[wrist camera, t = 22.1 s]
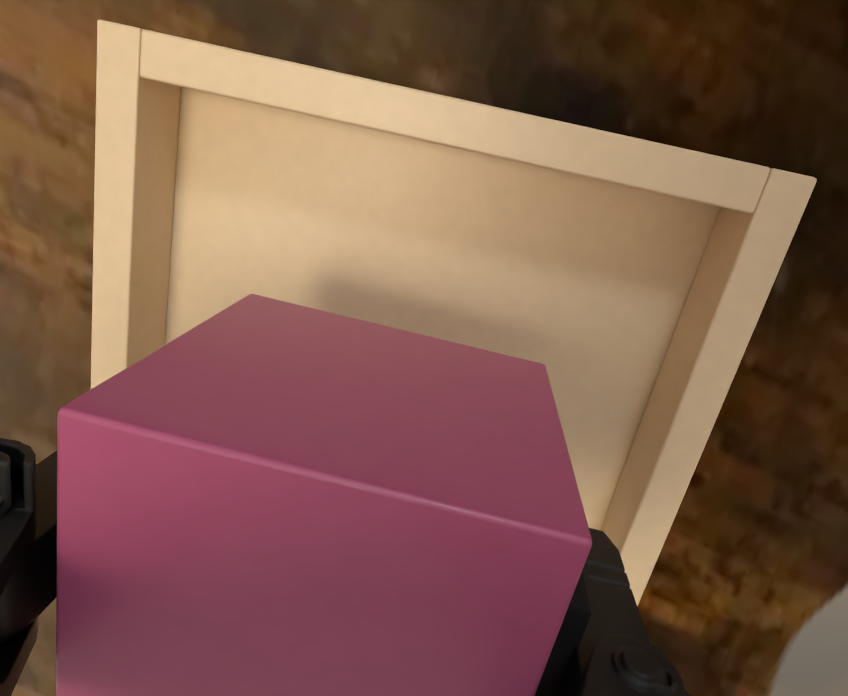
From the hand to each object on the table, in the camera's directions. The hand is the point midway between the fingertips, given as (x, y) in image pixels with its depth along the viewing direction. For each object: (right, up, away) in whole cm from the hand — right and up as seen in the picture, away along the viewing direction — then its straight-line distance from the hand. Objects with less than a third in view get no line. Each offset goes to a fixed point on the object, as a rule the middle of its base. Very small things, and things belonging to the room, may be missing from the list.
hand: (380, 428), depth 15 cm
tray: (0, +1, +3) cm, 3 cm away
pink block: (0, 0, -1) cm, 2 cm away
